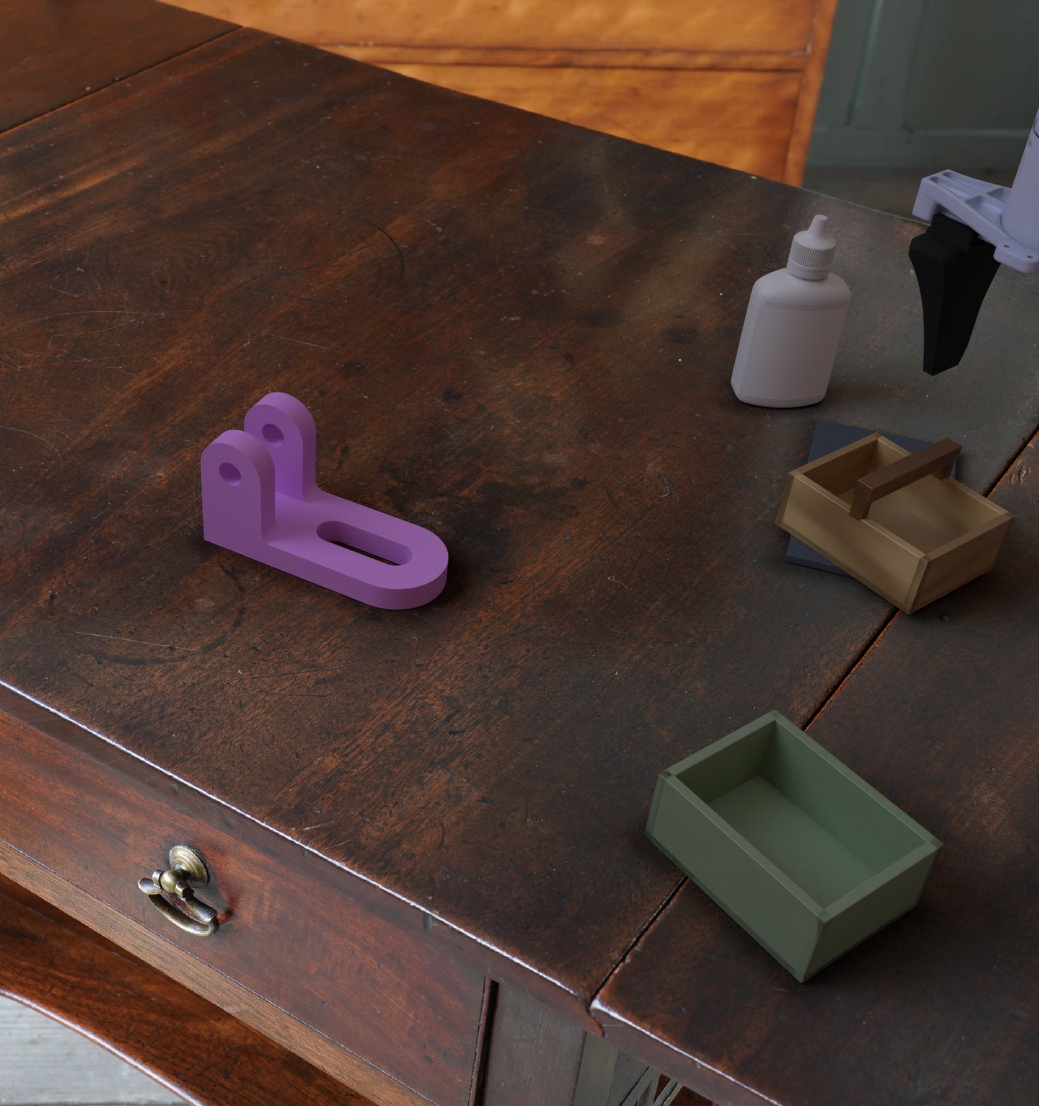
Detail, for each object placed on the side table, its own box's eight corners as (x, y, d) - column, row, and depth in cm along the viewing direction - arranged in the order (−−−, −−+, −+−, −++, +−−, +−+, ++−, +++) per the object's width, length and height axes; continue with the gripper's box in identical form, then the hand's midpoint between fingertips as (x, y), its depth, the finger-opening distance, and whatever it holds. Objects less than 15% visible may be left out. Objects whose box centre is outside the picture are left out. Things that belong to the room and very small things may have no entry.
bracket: (204, 539, 79) (199, 433, 75) (258, 487, 83) (257, 384, 78) (416, 623, 74) (423, 515, 70) (464, 563, 78) (475, 457, 73)
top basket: (995, 568, 77) (1029, 484, 73) (908, 615, 74) (938, 530, 70) (860, 482, 83) (886, 401, 79) (774, 523, 80) (796, 441, 76)
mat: (941, 598, 76) (944, 591, 75) (784, 561, 78) (786, 554, 78) (955, 454, 86) (957, 447, 85) (815, 425, 88) (817, 418, 88)
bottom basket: (917, 906, 61) (945, 844, 58) (801, 984, 58) (825, 922, 55) (756, 770, 66) (775, 708, 64) (643, 835, 63) (658, 772, 61)
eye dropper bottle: (813, 423, 88) (863, 244, 81) (722, 399, 90) (762, 221, 83) (829, 389, 91) (879, 213, 84) (740, 366, 93) (781, 192, 86)
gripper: (904, 102, 66) (833, 360, 74) (1210, 225, 56) (1088, 504, 65) (1002, 70, 69) (923, 322, 77) (1308, 182, 59) (1179, 454, 68)
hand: (1005, 402), depth 71 cm, fingers open, 7 cm apart
